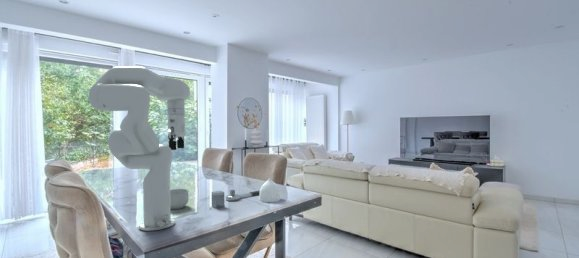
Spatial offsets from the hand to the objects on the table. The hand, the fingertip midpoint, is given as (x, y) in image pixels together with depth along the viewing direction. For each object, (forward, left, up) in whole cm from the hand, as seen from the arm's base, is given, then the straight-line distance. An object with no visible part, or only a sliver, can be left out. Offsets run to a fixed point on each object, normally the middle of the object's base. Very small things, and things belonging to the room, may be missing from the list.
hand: (176, 149), depth 131 cm
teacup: (+5, 0, -29) cm, 29 cm away
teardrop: (-16, -42, -29) cm, 53 cm away
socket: (-9, -16, -28) cm, 34 cm away
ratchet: (-2, -36, -28) cm, 46 cm away
